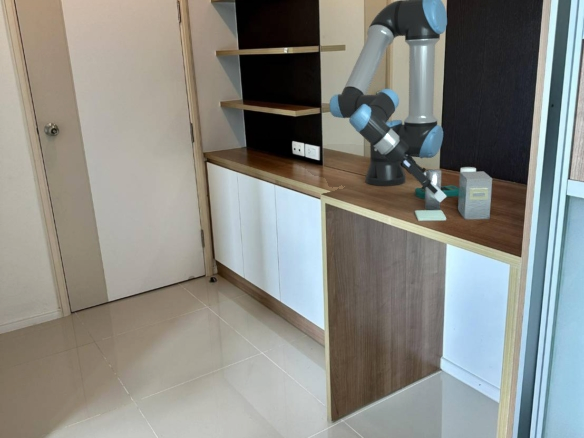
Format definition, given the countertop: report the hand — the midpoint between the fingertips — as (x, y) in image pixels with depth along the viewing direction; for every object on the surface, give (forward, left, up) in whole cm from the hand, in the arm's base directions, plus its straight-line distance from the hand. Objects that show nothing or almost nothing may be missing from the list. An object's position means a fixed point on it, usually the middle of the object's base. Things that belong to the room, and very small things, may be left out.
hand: (439, 193), depth 168 cm
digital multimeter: (-17, +2, -5) cm, 18 cm away
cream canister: (-3, +9, -5) cm, 11 cm away
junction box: (+7, +9, -5) cm, 12 cm away
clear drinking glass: (0, -2, -5) cm, 5 cm away
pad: (+9, -4, -5) cm, 11 cm away
